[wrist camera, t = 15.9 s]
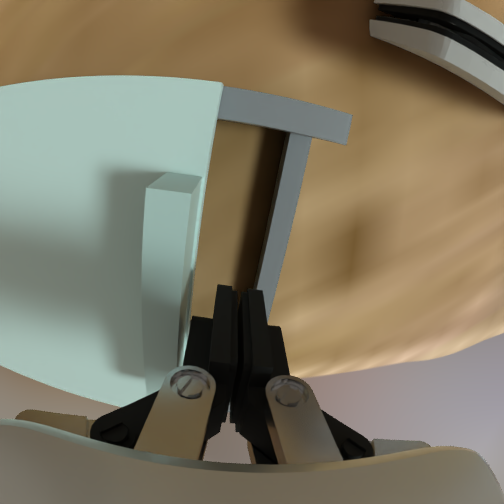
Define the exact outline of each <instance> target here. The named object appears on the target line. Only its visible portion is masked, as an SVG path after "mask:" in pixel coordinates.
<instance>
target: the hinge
mask: <svg viewBox="0 0 504 504" xmlns="http://www.w3.org/2000/svg"><path fill="white" fill-rule="evenodd" d="M374 3H376V4H378V5H379V8H378V10H380V11H383V12H385V13H388V14H390V15H393V16H395V17H397V18H392V17H384V16H377V17H376V20H371V19H370V26H369V30H370V36H372V37H374V38H377V39H380V40H383V41H385V42H388V43H390V44H393V45H395V46H398V47H400V48H402V49H405V50H407V51H409V52H412V53H414V54H416V55H418V56H420V57H423V58H425V59H427V60H429V61H431V62H433V63H435V64H437V65H439V66H441V67H443V68H445V69H446V70H448V71H450V72H452V73H454V74H456V75H457V76H459V77H461V78H463V79H464V80H466V81H468V82H469V83H471V84H473V85H474V86H476V87H478V88H479V89H481V90H482V91H484V92H485V93H487V94H488V95H490V96H491V97H493V98H494V99H496V100H497V101H499V102H500V103H502V104H503V105H504V24H503V23H501V22H500V21H498V20H497V19H495V18H494V17H492V16H490V15H489V14H487V13H486V12H484V11H482V10H481V9H479V8H477V7H475V6H474V5H472V4H470V3H468V2H466V1H465V0H375V1H374ZM398 18H400V19H398Z"/></svg>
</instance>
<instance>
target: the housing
mask: <svg viewBox="0 0 504 504" xmlns="http://www.w3.org/2000/svg"><path fill="white" fill-rule="evenodd" d="M352 116H353V115H351V114H348V113H344V112H341V111H337V110H334V109H330V108H327V107H323V106H319V105H316V104H312V103H308V102H304V101H299V100H295V99H291V98H286V97H282V96H277V95H272V94H267V93H262V92H256V91H251V90H245V89H239V88H232V87H225V86H223V91H222V96H221V101H220V106H219V112H218V117H217V120H223V121H230V122H236V123H242V124H248V125H254V126H259V127H264V128H270V129H275V130H280V131H284V132H286V136H285V141H284V146H283V151H282V155H281V160H280V165H279V170H278V175H277V179H276V184H275V189H274V194H273V198H272V203H271V208H270V213H269V217H268V222H267V227H266V232H265V236H264V241H263V246H262V250H261V255H260V260H259V264H258V269H257V273H256V278H255V283H254V287H253V289H257V290H263V295H264V302H265V309H266V316H267V322H268V318H269V314H270V311H271V307H272V303H273V299H274V295H275V292H276V288H277V284H278V280H279V276H280V272H281V268H282V264H283V260H284V256H285V252H286V248H287V244H288V240H289V236H290V232H291V228H292V223H293V219H294V215H295V211H296V206H297V202H298V198H299V194H300V189H301V185H302V180H303V176H304V172H305V167H306V163H307V158H308V154H309V149H310V144H311V140H312V138H317V139H321V140H326V141H330V142H335V143H339V144H343V145H346V143H347V139H348V134H349V130H350V125H351V120H352ZM190 325H191V321H190ZM189 330H190V328H189ZM228 412H230V403H229V408H228Z"/></svg>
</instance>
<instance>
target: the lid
mask: <svg viewBox="0 0 504 504" xmlns="http://www.w3.org/2000/svg"><path fill="white" fill-rule="evenodd" d="M222 91H223V83H221V82H214V81H205V80H196V79H185V78H173V77H157V76H85V77H69V78H58V79H48V80H39V81H32V82H25V83H19V84H13V85H7V86H2V87H0V365H1V366H3V367H6V368H8V369H11V370H12V371H15V372H17V373H19V374H22V375H24V376H26V377H29V378H32V379H34V380H37V381H39V382H42V383H44V384H47V385H50V386H53V387H56V388H58V389H61V390H64V391H67V392H70V393H73V394H76V395H80V396H83V397H86V398H89V399H93V400H96V401H100V402H104V403H107V404H111V405H115V406H119V407H124V406H126V405H128V404H131V403H133V402H135V401H137V400H139V399H141V398H143V397H146V396H148V395H150V394H152V393H154V392H156V391H158V390H160V388H161V386H162V384H163V382H164V379H165V377H166V376H167V374H168V373H169V372H170V371H171V370H173V369H174V368H177V367H180V366H183V361H184V355H185V350H186V345H187V340H188V335H189V328H190V316H191V305H192V295H193V285H194V276H195V267H196V258H197V250H198V242H199V234H200V226H201V219H202V211H203V204H204V197H205V190H206V183H207V177H208V170H209V164H210V158H211V152H212V146H213V140H214V134H215V128H216V123H217V117H218V112H219V106H220V101H221V96H222Z"/></svg>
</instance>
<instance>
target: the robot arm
mask: <svg viewBox="0 0 504 504" xmlns="http://www.w3.org/2000/svg"><path fill="white" fill-rule="evenodd" d="M229 403H230V423H235V427H236V432H239V433H240V434H241V435H242V436H243V437H244V438H246V439H247V448H248V452H249V456H250V460H251V464H236V463H220V462H209V461H203V459H204V454H205V451H206V447H207V443H208V439H210V438H211V437H213V436H214V435H216V434H217V433H219V432H220V427H221V423H222V422H225V421H226V417H227V413H228V408H229ZM0 504H504V494H503V492H502V489H501V487H500V485H499V483H498V481H497V479H496V477H495V475H494V473H493V471H492V470H491V468H490V467H489V465H488V464H487V462H486V461H485V459H484V458H483V457H482V456H481V455H480V454H479V453H477V452H475V451H473V450H470V449H467V448H462V447H454V446H436V447H431V446H430V445H429V444H426V443H425V442H422V441H404V440H384V439H373V441H368V439H366V438H365V437H364V436H362V435H361V434H359V433H357V432H356V431H354V430H353V429H351V428H349V427H348V426H346V425H344V424H343V423H341V422H340V421H338V420H337V419H335V418H333V417H332V416H330V415H329V414H327V413H326V412H324V411H323V410H321V409H320V407H319V404H318V402H317V400H316V397H315V395H314V393H313V391H312V389H311V387H310V386H309V385H308V384H307V383H306V382H304V381H303V380H302V379H300V378H298V377H294V376H291V375H290V373H289V368H288V362H287V357H286V352H285V347H284V342H283V336H282V331H281V328H280V327H279V326H270V325H268V323H267V316H266V309H265V302H264V295H263V290H257V289H249V288H248V289H247V292H241V297H240V302H239V308H238V297H237V291H234V290H232V286H226V285H219V284H218V285H217V292H216V299H215V307H214V314H213V319H211V318H204V317H197V316H192V320H191V325H190V330H189V335H188V340H187V345H186V350H185V355H184V361H183V366H180V367H177V368H174V369H173V370H171V371H170V372H169V373H168V374H167V376H166V377H165V379H164V382H163V384H162V386H161V388H160V390H158V391H156V392H154V393H152V394H150V395H148V396H146V397H143V398H141V399H139V400H137V401H135V402H133V403H131V404H128V405H126V406H124V407H122V408H120V409H117V410H115V411H113V412H111V413H108V414H106V415H103V416H101V417H100V418H98V419H97V420H88V418H87V416H77V415H68V414H60V413H52V412H45V411H39V410H25V411H22V412H21V413H19V415H17V416H16V418H15V419H0Z"/></svg>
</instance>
